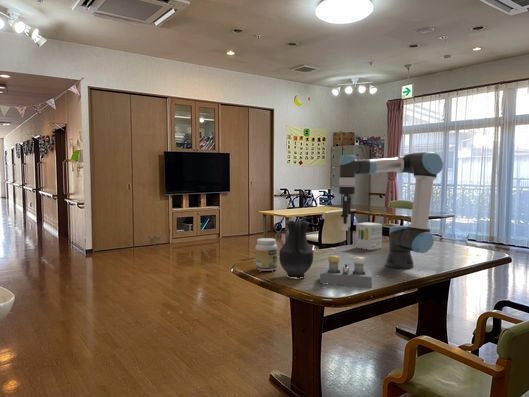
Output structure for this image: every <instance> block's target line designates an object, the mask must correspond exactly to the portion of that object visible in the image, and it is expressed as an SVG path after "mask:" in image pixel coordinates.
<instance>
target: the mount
mask: <svg viewBox="0 0 529 397" xmlns="http://www.w3.org/2000/svg"><path fill="white" fill-rule="evenodd" d="M372 272H373V271H372V270H367V269H366V270H364V273H363V274H355V273H354V269H349V274H343V268H338V272H337V273H332V272H329V267H328V268H327V267H322V269H321V272H320V274H319V275H320V276H319V284H320V283H328V284H338V285H337V286H342V285H346V286H345V287H360V288H372V287H373V286H372V285H373V284H372V282H373V275H372V274H373V273H372Z"/></svg>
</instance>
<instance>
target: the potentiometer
mask: <svg viewBox="0 0 529 397" xmlns="http://www.w3.org/2000/svg"><path fill="white" fill-rule="evenodd" d="M342 269H343V274H349V270H350V266H348V264H347V263H345V264H344V266H343V267H342Z"/></svg>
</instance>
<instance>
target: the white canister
mask: <svg viewBox="0 0 529 397" xmlns="http://www.w3.org/2000/svg"><path fill="white" fill-rule="evenodd" d="M355 226H356V228H355V248H356V247H357V249H361V248H362V250H366V249H367V250H366V251H373V250H378V249H379V248H380V249H382V246H383V243H382V242H383V240H382V239H383V223H378V222H377V223H376V222H368V221H367V222H359V223H356V224H355Z"/></svg>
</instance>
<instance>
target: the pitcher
mask: <svg viewBox="0 0 529 397" xmlns="http://www.w3.org/2000/svg"><path fill="white" fill-rule="evenodd" d="M285 224H286V226H287V228H288V229H287V230H288V233H287V237H286V240H285V242H284V244H283V245H282V247H281V248H280V249H279V253H278V254H279V255H278V256H279V263H280V266H281V268H282V269H283V271H285V272H286V276H287V275H288V276H289V277H297V278H300V277H304V276H305V277H306V275H305V273H306V272H308V271H309V270H310V268H311V267H312V265H313V262H314V251H313V249H312V247H310V245H309V243H308V239H307V229H308V228H309V225H310V222H308V221H306V220H302V221H300V220H299V221H298V220H295V221H294V220H288V221H286V222H285Z"/></svg>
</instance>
